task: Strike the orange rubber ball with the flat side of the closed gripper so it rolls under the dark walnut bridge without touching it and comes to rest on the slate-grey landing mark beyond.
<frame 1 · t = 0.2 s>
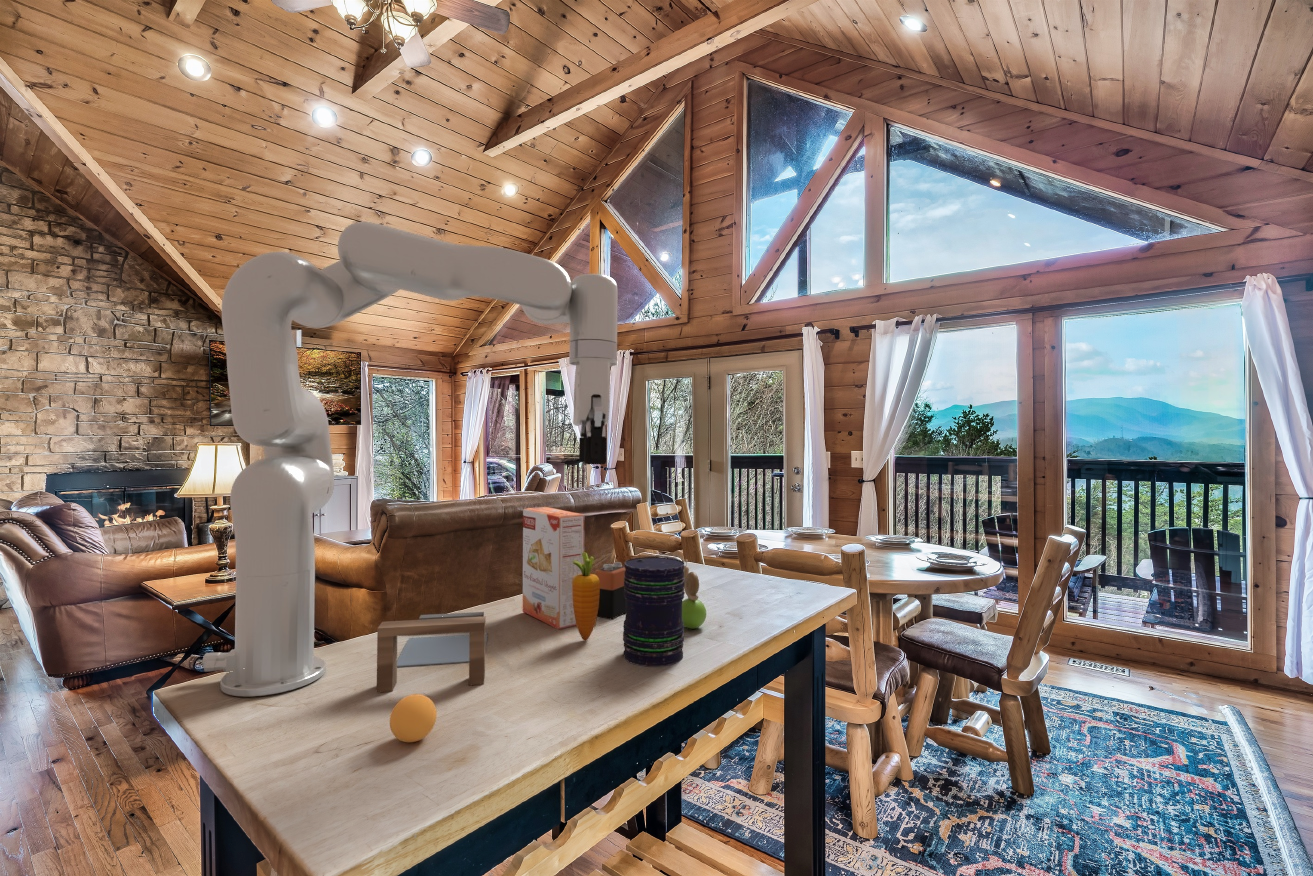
hand: (591, 462, 95), 31 cm above the table, tool pointing down, fingers open, 9 cm apart
bridge: (432, 683, 84), on the table
ball: (413, 717, 69), on the table
landing mark: (444, 649, 98), on the table
carrot: (585, 642, 103), on the table
dark blue cylinder: (653, 656, 97), on the table
battery: (612, 615, 119), on the table
snail figurine: (690, 628, 112), on the table
cracker box: (551, 619, 116), on the table
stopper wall: (451, 628, 109), on the table
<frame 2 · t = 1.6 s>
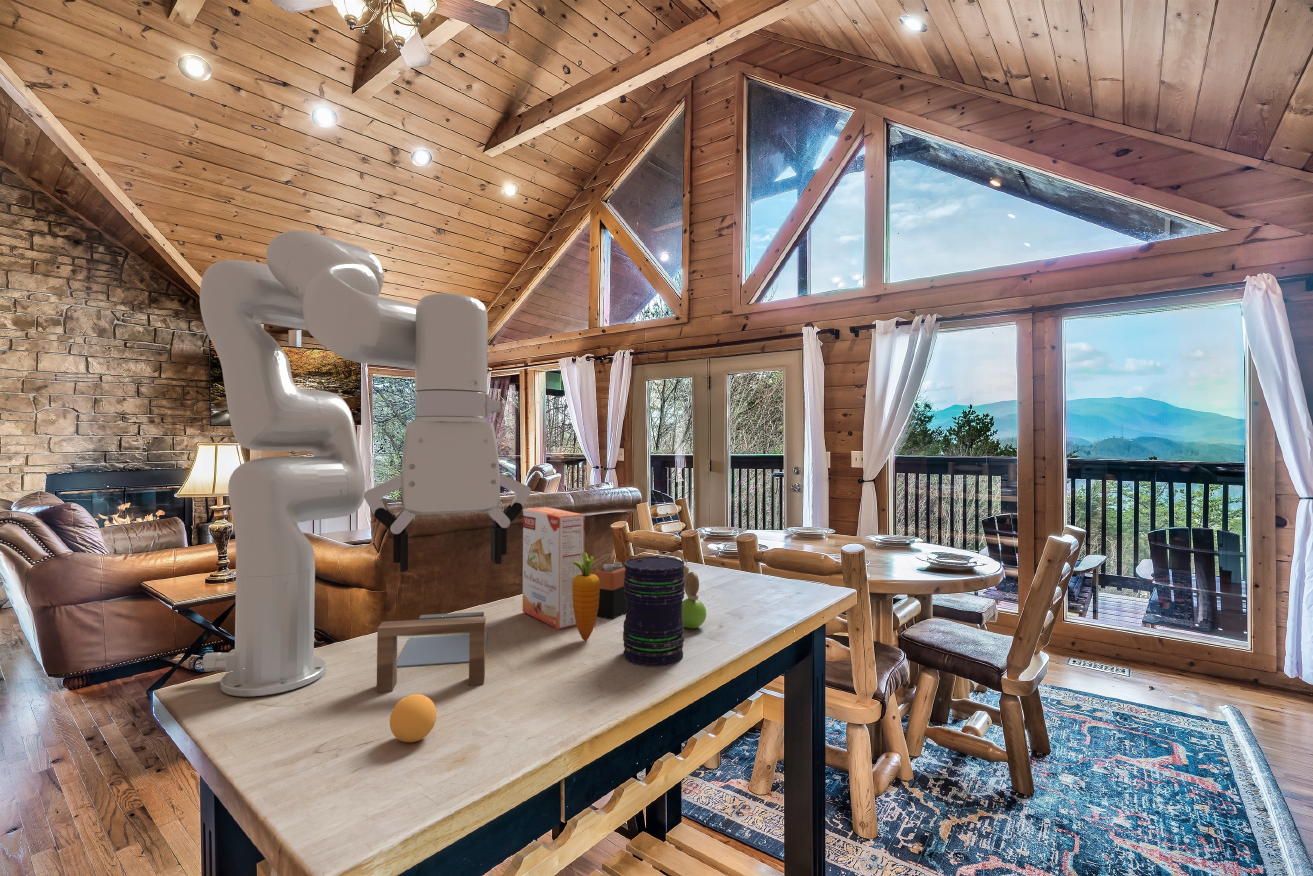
hand: (451, 565, 66), 21 cm above the table, tool pointing down, fingers open, 9 cm apart
nothing on the table moved.
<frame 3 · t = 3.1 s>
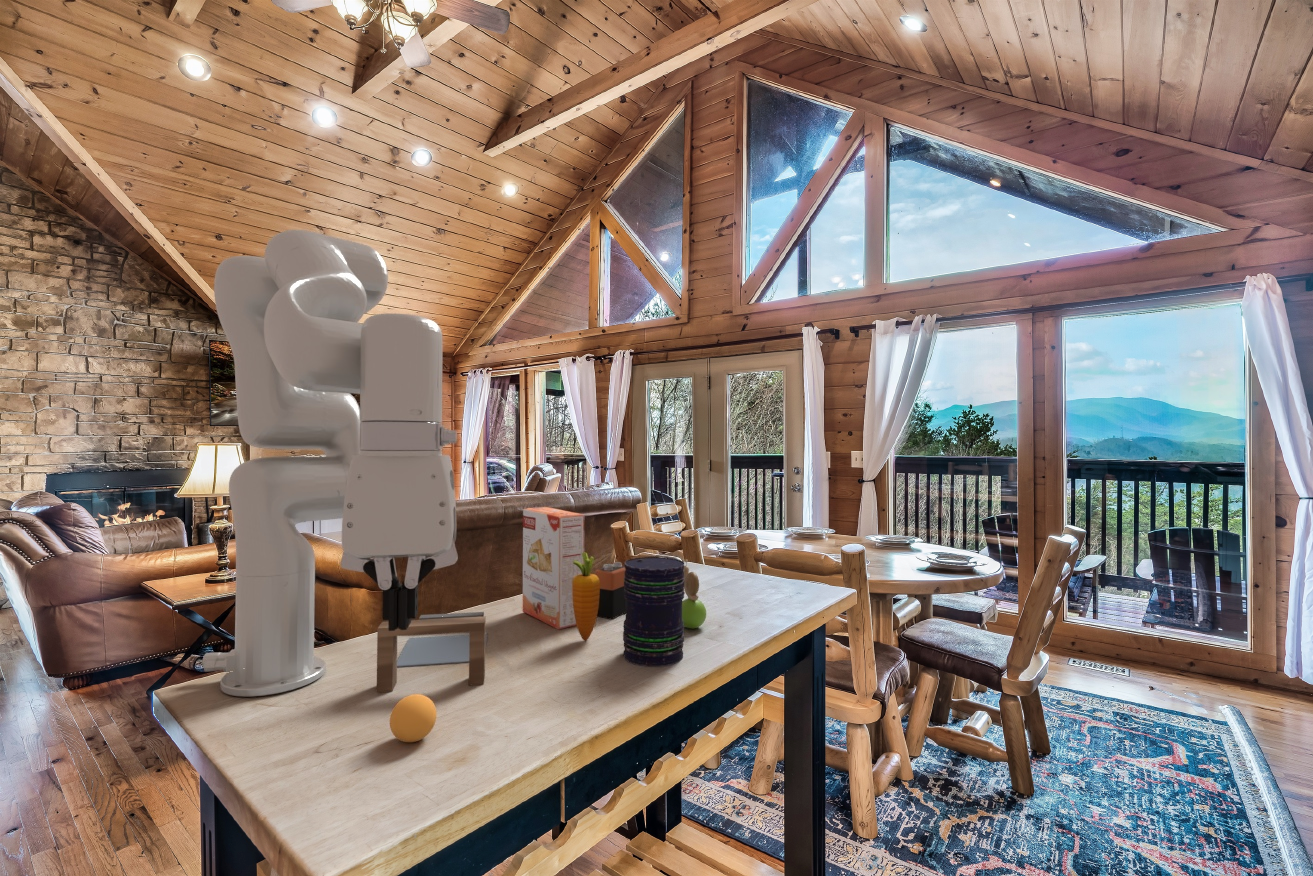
hand: (400, 626, 59), 16 cm above the table, tool pointing down, fingers closed
nothing on the table moved.
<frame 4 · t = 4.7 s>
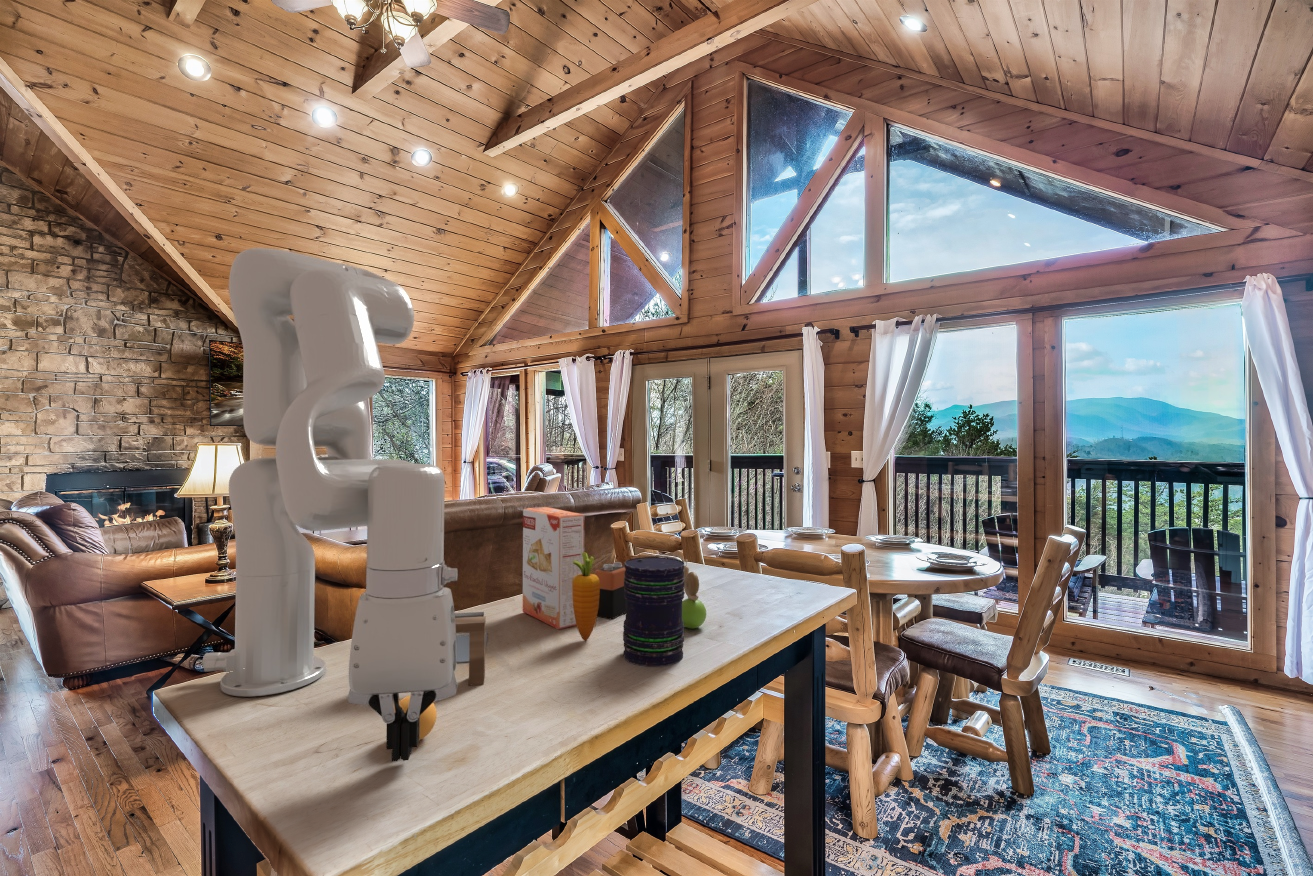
hand: (402, 754, 63), 1 cm above the table, tool pointing down, fingers closed
nothing on the table moved.
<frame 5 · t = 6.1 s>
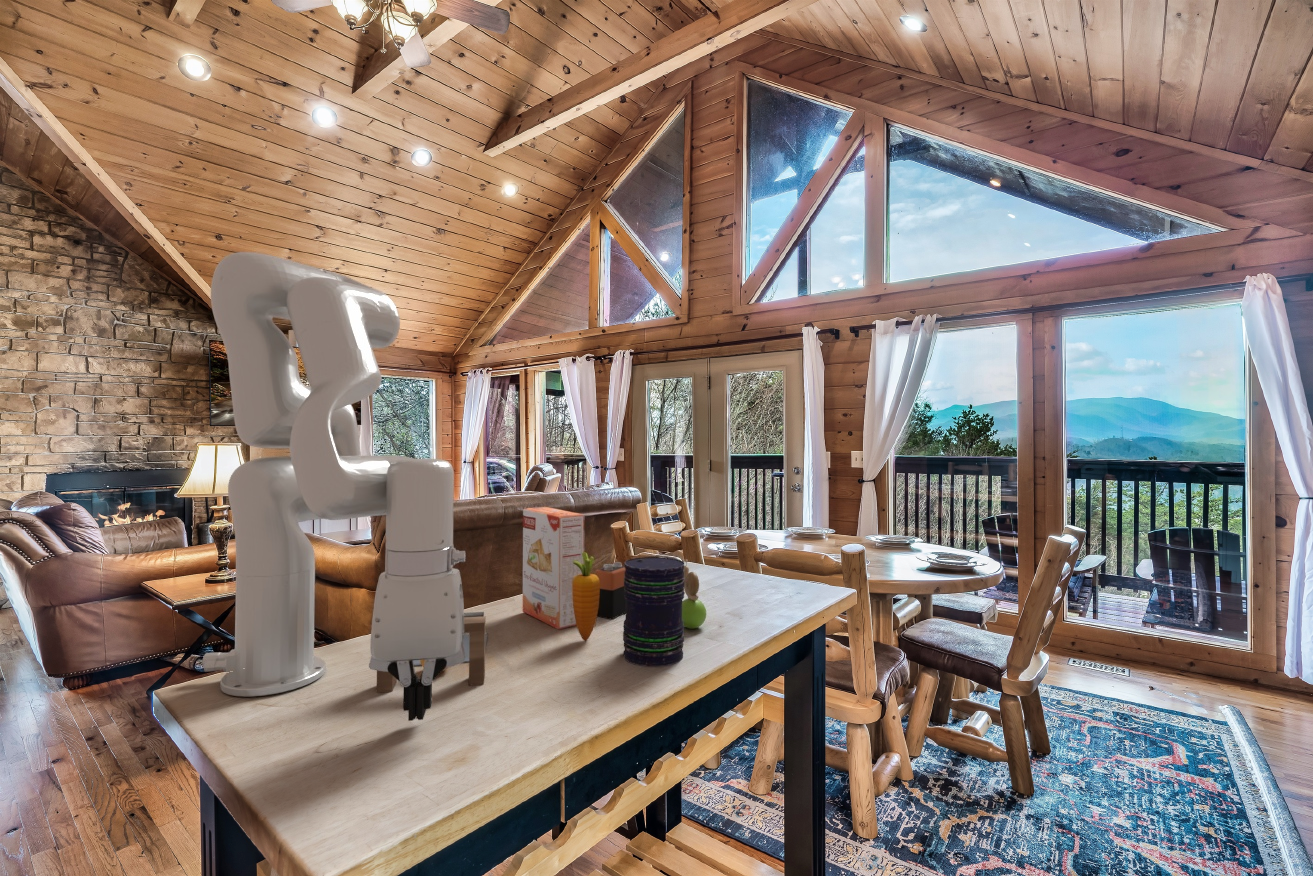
hand: (417, 714, 72), 1 cm above the table, tool pointing down, fingers closed
ball: (437, 654, 89), on the table
everything else where it was.
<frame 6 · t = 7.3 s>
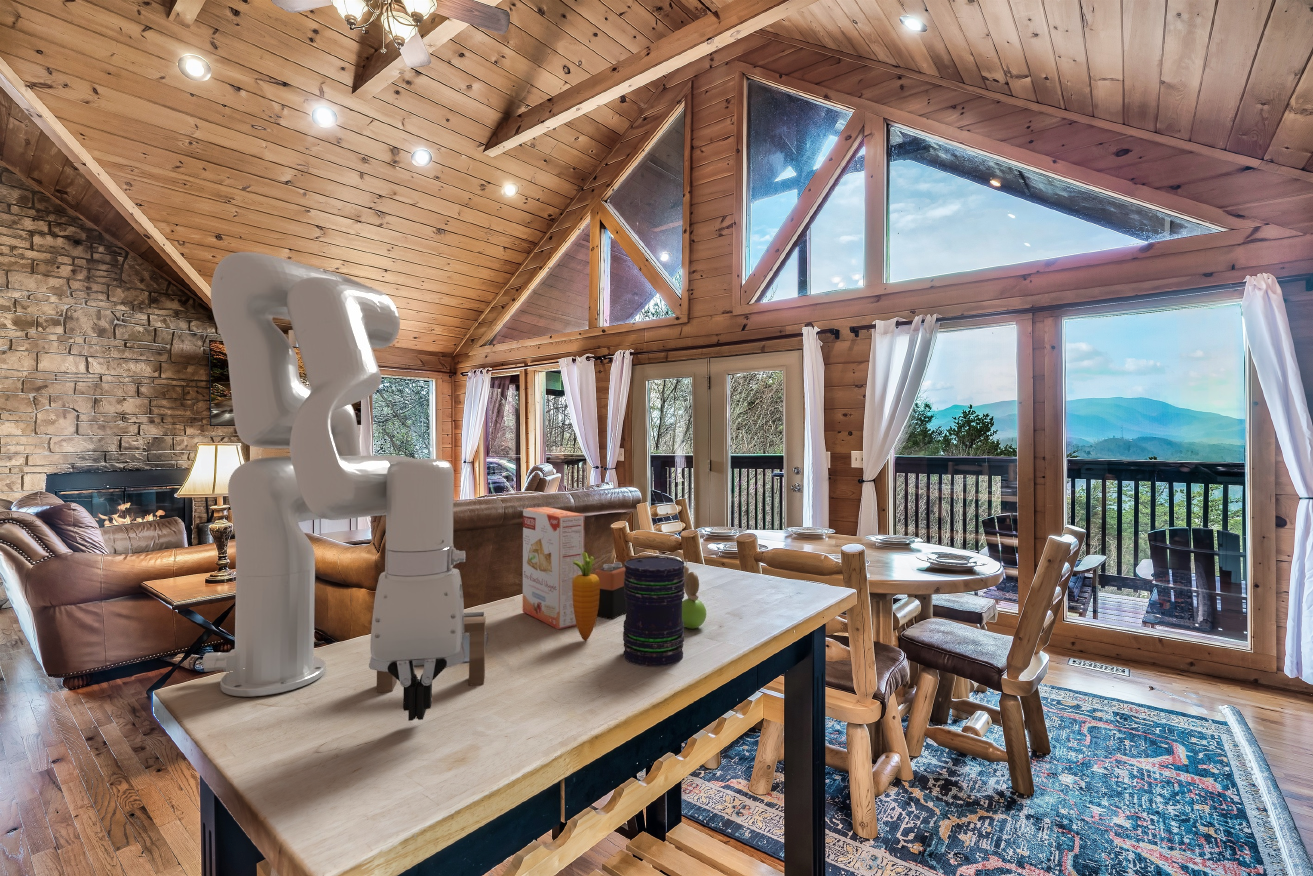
hand: (417, 714, 72), 1 cm above the table, tool pointing down, fingers closed
ball: (442, 641, 95), on the table
everything else where it was.
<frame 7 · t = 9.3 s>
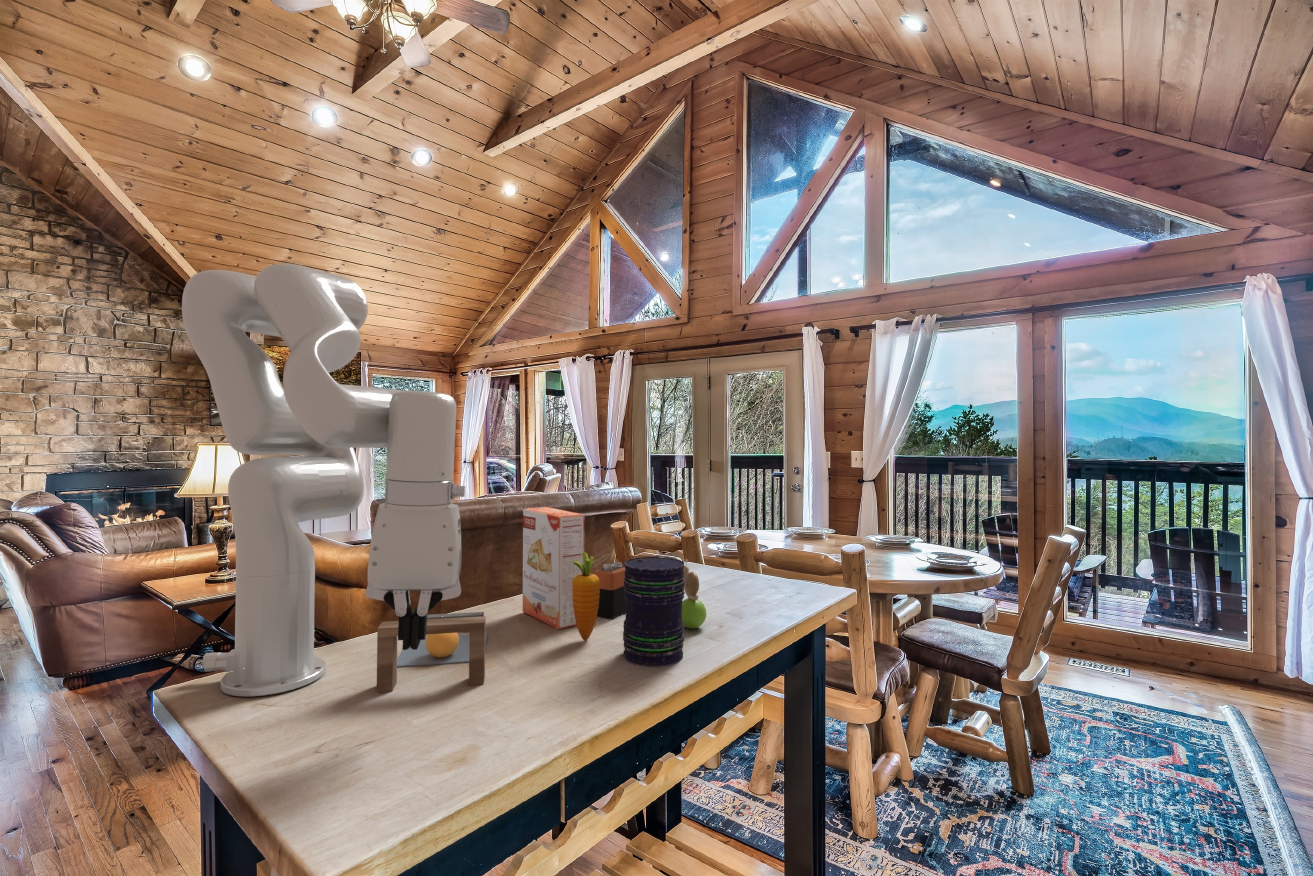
hand: (411, 645, 72), 10 cm above the table, tool pointing down, fingers closed
nothing on the table moved.
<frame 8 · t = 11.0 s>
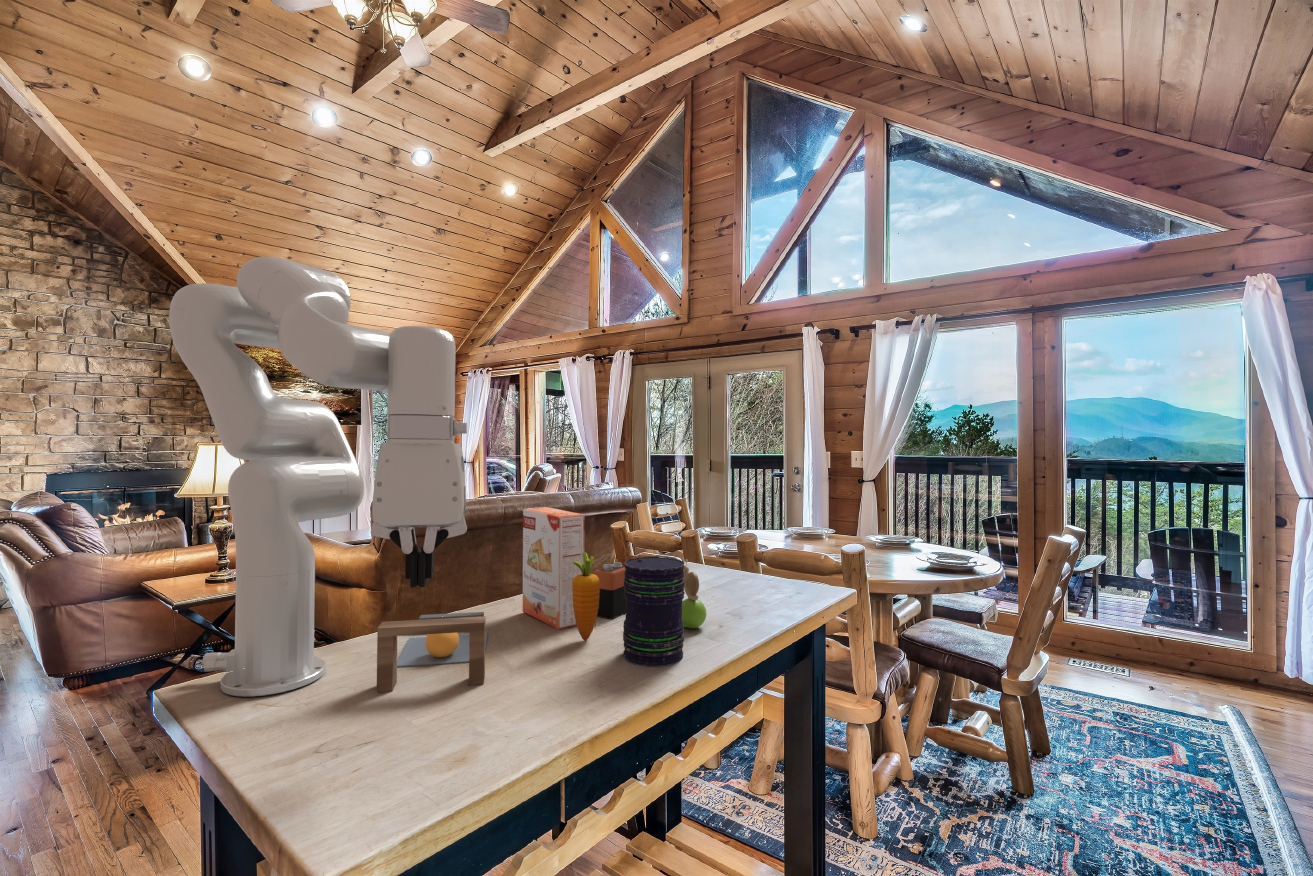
hand: (419, 584, 72), 17 cm above the table, tool pointing down, fingers closed
nothing on the table moved.
at the end: ball 3.3 cm from the landing mark (horizontally); ball never touched bridge; ball at rest at the end (0.0 cm/s) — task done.
